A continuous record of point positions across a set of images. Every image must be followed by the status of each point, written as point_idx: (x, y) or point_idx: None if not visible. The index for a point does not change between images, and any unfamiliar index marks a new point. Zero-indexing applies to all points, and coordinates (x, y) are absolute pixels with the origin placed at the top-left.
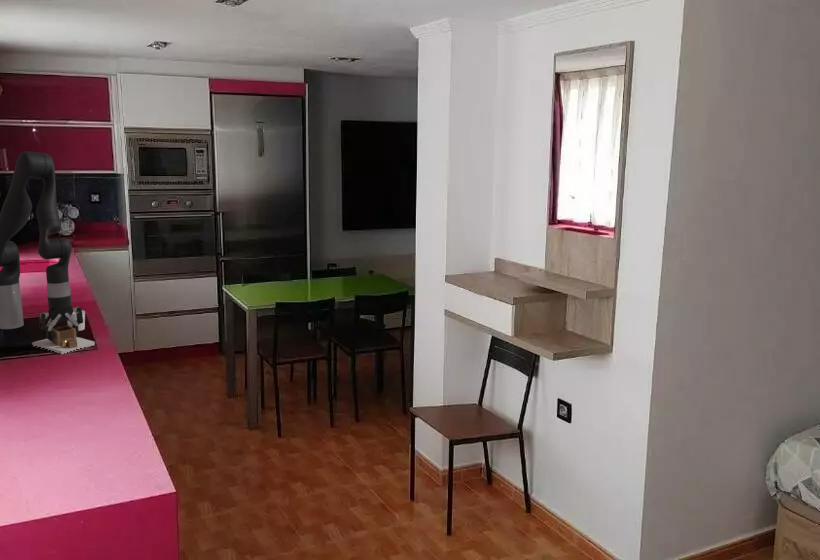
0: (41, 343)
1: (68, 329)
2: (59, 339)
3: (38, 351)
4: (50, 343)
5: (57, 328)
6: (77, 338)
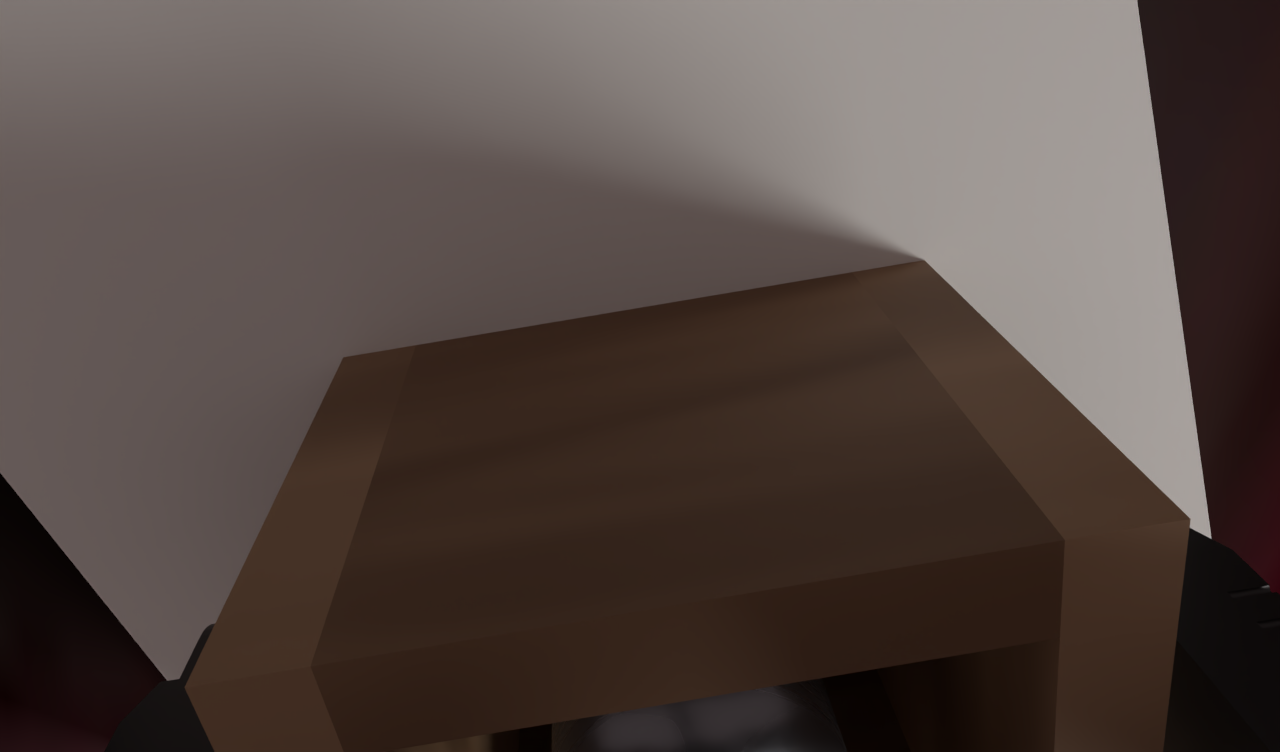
0: (34, 347)
1: (996, 659)
2: None
3: (14, 645)
4: None
5: (561, 695)
6: (1098, 395)
